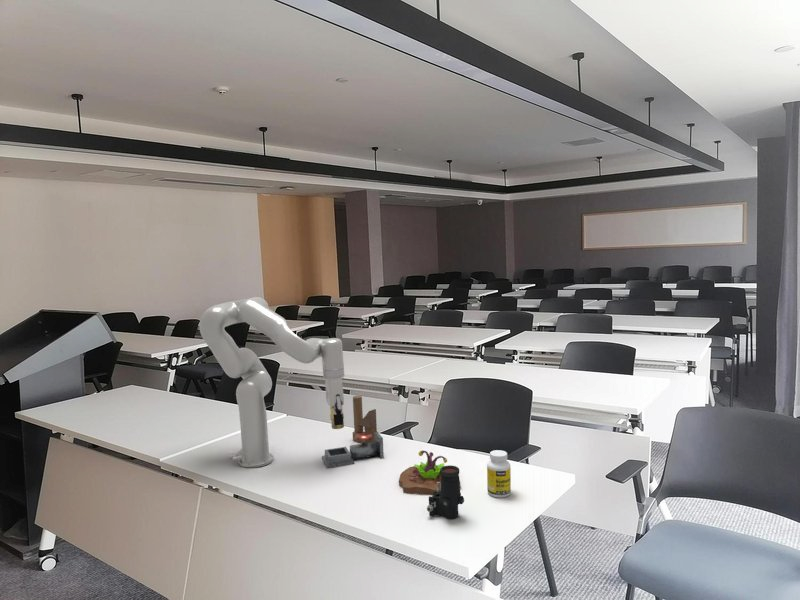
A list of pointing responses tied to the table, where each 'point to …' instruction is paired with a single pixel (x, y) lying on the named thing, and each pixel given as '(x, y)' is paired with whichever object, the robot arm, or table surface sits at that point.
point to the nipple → (333, 418)
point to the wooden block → (363, 420)
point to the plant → (422, 476)
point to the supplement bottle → (498, 474)
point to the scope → (446, 494)
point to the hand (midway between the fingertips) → (337, 422)
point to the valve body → (354, 451)
